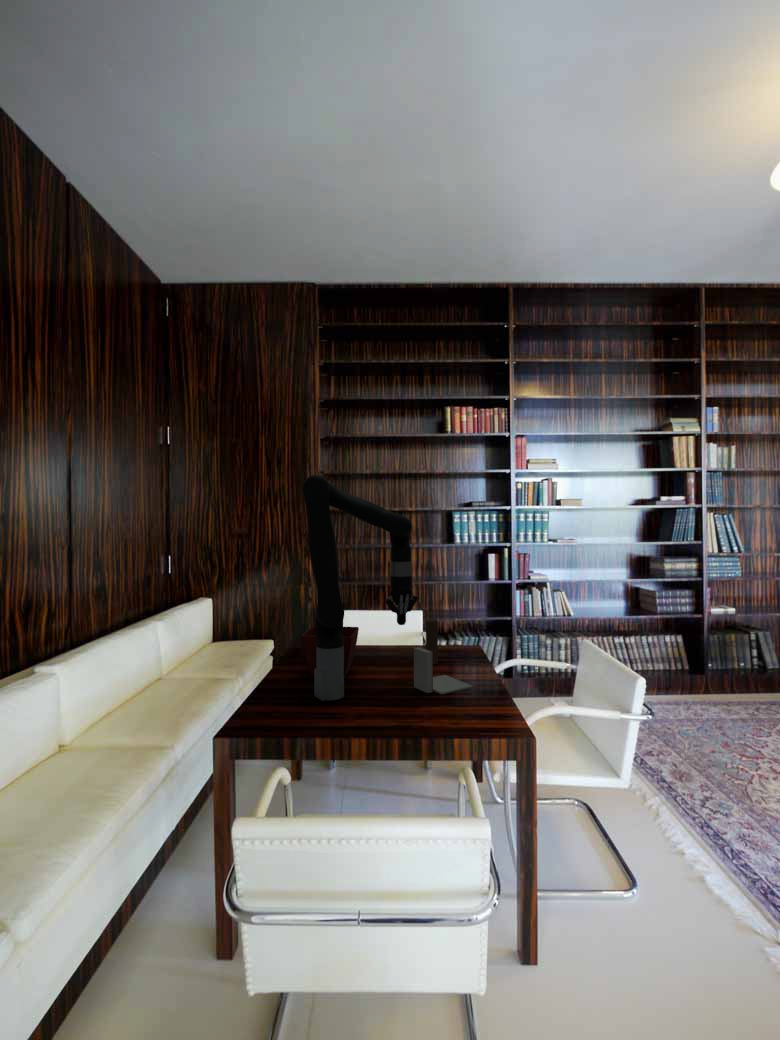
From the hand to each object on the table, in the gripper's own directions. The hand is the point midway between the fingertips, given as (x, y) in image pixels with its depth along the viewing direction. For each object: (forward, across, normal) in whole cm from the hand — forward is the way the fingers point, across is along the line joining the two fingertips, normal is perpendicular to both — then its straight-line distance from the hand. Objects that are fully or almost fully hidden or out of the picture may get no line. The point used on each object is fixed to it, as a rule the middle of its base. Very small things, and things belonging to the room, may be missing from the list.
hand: (401, 624), depth 184 cm
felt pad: (+24, +18, 0) cm, 30 cm away
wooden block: (+24, +30, +27) cm, 47 cm away
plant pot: (+24, -10, +35) cm, 44 cm away
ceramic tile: (+24, +9, 0) cm, 26 cm away
